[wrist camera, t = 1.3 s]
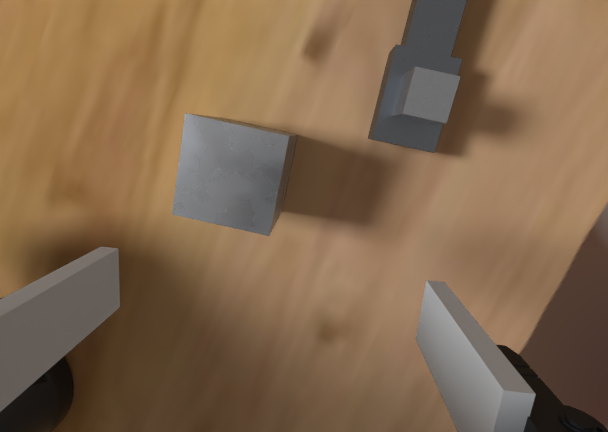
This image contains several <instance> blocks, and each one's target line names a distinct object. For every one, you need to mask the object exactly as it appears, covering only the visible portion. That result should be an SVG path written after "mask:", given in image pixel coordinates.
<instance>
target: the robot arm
mask: <svg viewBox="0 0 608 432" xmlns="http://www.w3.org/2000/svg"><path fill="white" fill-rule="evenodd" d="M119 308H120V286H119V252H118V248H110V247H99V248H97V249H95V250H93V251H91V252H90V253H88V254H86V255H84V256H82V257H80V258H78V259H76V260H74V261H72V262H70V263H69V264H67V265H65V266H63V267H61V268H59V269H57V270H55V271H53V272H51V273H49V274H48V275H46V276H44V277H42V278H40V279H38V280H36V281H34V282H32V283H30V284H28V285H27V286H25V287H23V288H21V289H19V290H17V291H15V292H13V293H11V294H9V295H7V296H6V297H3V298H0V432H52V431H53V429H54V428H55V427H56V426H57V425H58V424H59V423H60V422H61V421H62V419H63V418H64V417H65V415H66V414H67V412H68V410H69V408H70V405H71V402H72V397H73V382H72V377H71V373H70V370H69V367H68V365H67V363H66V361H65V359H64V356H65V355H66V354H67V353H68V352H69V351H70V350H72V349H73V348H74V347H75V346H76V345H77V344H78V343H80V342H81V341H82V340H83V339H84V338H85V337H86V336H88V335H89V334H90V333H91V332H92V331H93V330H95V329H96V328H97V327H98V326H99V325H100V324H101V323H103V322H104V321H105V320H106V319H107V318H108V317H109V316H111V315H112V314H113V313H114V312H115V311H116V310H117V309H119ZM416 341H417V343H418V345H419V347H420V349H421V352H422V354H423V356H424V358H425V360H426V363H427V365H428V367H429V369H430V372H431V374H432V376H433V378H434V380H435V383H436V385H437V387H438V389H439V391H440V394H441V396H442V398H443V400H444V403H445V405H446V407H447V409H448V411H449V414H450V416H451V418H452V420H453V422H454V425H455V427H456V429H457V431H458V432H608V430H607V429H606V428H605V426H604V425H602V424H601V423H600V422H599V421H597V420H596V419H595V418H593V417H592V416H590V415H588V414H586V413H585V412H583V411H581V410H578V409H576V408H573V407H570V406H566V405H563V404H562V403H561V402H560V400H559V399H558V398H557V397H556V396H555V395H554V394H553V392H552V391H551V390H550V389H549V388H548V387H547V386H546V385H545V383H544V382H543V381H542V380H541V379H540V378H538V375H537V374H536V373H535V372H534V371H533V370H532V369H530V367H529V365H528V364H527V363H526V362H525V361H524V360H523V359H522V357H521V356H520V355H518V354H517V353H515V352H514V351H512V350H511V349H510V348H508V347H507V346H503V345H496V344H495V343H494V342H493V341H492V340H491V338H490V337H489V336H488V335H487V333H486V332H485V331H484V330H483V328H482V327H481V326H480V325H479V324H478V322H477V321H476V320H475V319H474V317H473V316H472V315H471V314H470V312H469V311H468V310H467V309H466V308H465V306H464V305H463V304H462V303H461V301H460V300H459V299H458V298H457V297H456V295H455V294H454V293H453V292H452V290H451V289H450V288H449V287H448V285H447V284H446V283H445V282H438V281H429V280H426V285H425V291H424V296H423V302H422V307H421V313H420V318H419V324H418V329H417V335H416Z"/></svg>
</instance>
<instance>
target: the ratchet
mask: <svg viewBox="0 0 608 432" xmlns="http://www.w3.org/2000/svg"><path fill="white" fill-rule="evenodd" d="M466 2H467V0H412V3H411V7H410V11H409V15H408V19H407V23H406V26H405V30H404V34H403V38H402V42H401V45H396V46H395V47H394V48H393V49H392V50H391V51H390V53H389V56H388V60H387V64H386V68H385V72H384V76H383V80H382V84H381V88H380V92H379V96H378V100H377V104H376V107H375V111H374V115H373V119H372V123H371V127H370V131H369V135H368V138H369V139H373V140H378V141H382V142H387V143H391V144H396V145H401V146H405V147H410V148H414V149H419V150H423V151H428V152H433V153H435V150H436V146H437V143H438V140H439V136H440V133H441V129H442V126H443V124H444V123H447V120H448V117H449V114H450V110H451V107H452V104H453V100H454V97H455V94H456V90H457V87H458V84H459V80H460V77H461V76H458V72H459V69H460V66H461V62H462V59H460V58H455V57H451V54H452V50H453V47H454V43H455V40H456V37H457V33H458V30H459V26H460V23H461V19H462V16H463V12H464V9H465V6H466Z"/></svg>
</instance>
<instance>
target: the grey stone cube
mask: <svg viewBox="0 0 608 432" xmlns="http://www.w3.org/2000/svg"><path fill="white" fill-rule="evenodd" d="M297 136H298V135H296V134H292V133H287V132H283V131H278V130H274V129H269V128H265V127H260V126H256V125H251V124H247V123H242V122H238V121H233V120H229V119H224V118H220V117H212V116H204V115H196V114H188V113H185V120H184V128H183V135H182V143H181V150H180V158H179V166H178V173H177V181H176V188H175V196H174V204H173V211H172V214H173V215H178V216H182V217H187V218H191V219H196V220H200V221H205V222H209V223H214V224H218V225H223V226H227V227H232V228H236V229H241V230H245V231H250V232H254V233H259V234H263V235H268V236H269V235H270V234H271V232H272V230H273V228H274V226H275V224H276V222H277V220H278V218H279V216H280V214H281V212H282V208H283V204H284V199H285V194H286V189H287V184H288V179H289V174H290V170H291V165H292V160H293V155H294V150H295V145H296V140H297Z"/></svg>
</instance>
